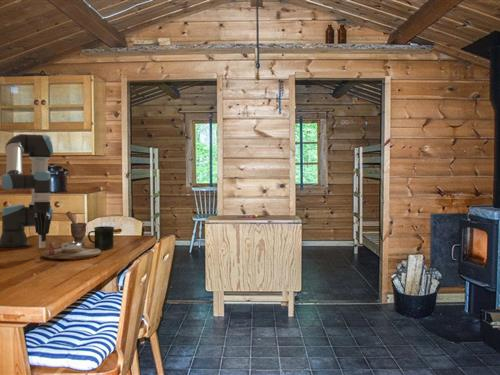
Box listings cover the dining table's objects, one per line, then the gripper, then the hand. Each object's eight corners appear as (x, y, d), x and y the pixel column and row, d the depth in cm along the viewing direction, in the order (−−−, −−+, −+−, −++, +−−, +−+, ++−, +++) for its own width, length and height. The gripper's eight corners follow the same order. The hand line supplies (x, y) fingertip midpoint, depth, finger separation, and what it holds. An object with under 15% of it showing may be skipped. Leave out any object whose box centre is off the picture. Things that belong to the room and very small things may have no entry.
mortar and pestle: (63, 246, 259) (63, 212, 258) (66, 244, 267) (66, 210, 266) (84, 246, 261) (84, 212, 260) (87, 243, 269) (87, 210, 269)
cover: (57, 251, 233) (57, 242, 232) (74, 249, 241) (74, 239, 241) (69, 254, 227) (69, 244, 227) (86, 251, 236) (86, 241, 235)
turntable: (31, 254, 229) (31, 240, 229) (78, 247, 253) (78, 234, 253) (65, 261, 214) (65, 246, 214) (112, 252, 238) (112, 239, 238)
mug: (111, 249, 251) (112, 228, 251) (85, 249, 250) (85, 228, 250) (116, 246, 262) (116, 226, 262) (90, 246, 261) (90, 226, 260)
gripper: (27, 200, 227) (27, 247, 228) (42, 202, 220) (42, 249, 221) (41, 200, 233) (41, 245, 234) (56, 201, 226) (56, 247, 227)
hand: (42, 247), depth 227 cm, fingers closed
